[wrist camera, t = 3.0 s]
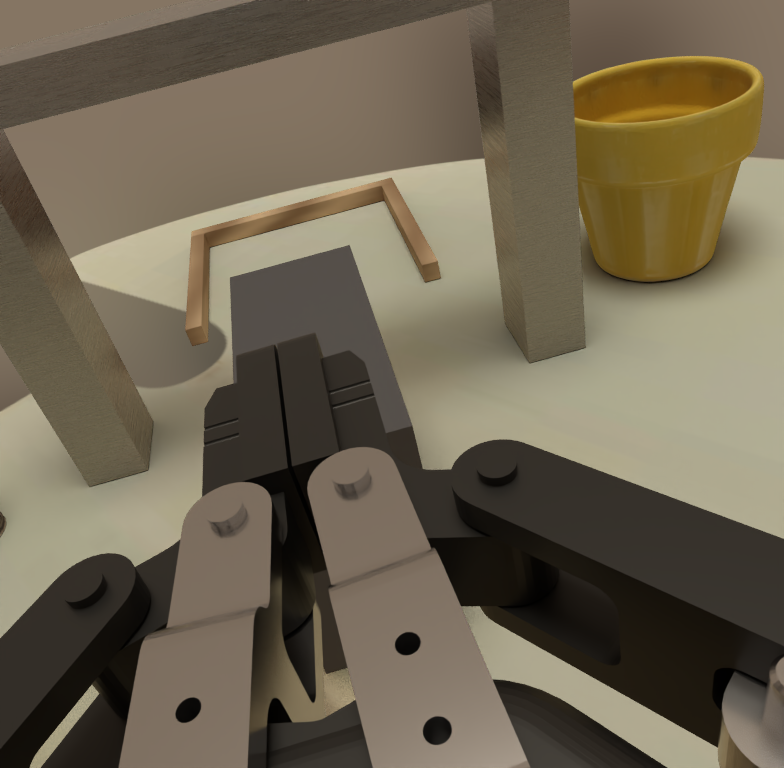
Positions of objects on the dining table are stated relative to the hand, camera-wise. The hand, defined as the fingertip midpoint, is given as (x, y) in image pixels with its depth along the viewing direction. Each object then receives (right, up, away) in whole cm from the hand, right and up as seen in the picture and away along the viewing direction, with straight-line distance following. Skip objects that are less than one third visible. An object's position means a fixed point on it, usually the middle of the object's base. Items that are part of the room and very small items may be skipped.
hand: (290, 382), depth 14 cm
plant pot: (+17, +8, +30) cm, 36 cm away
